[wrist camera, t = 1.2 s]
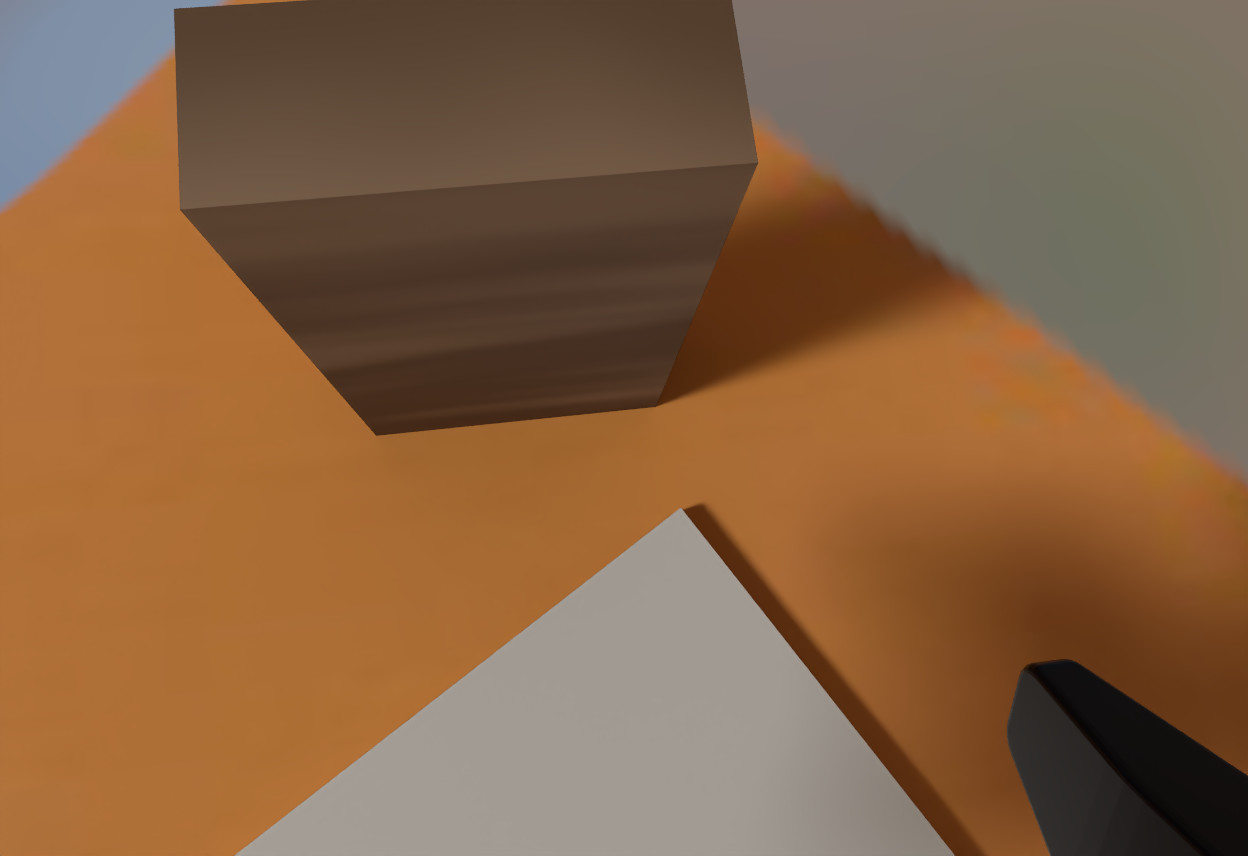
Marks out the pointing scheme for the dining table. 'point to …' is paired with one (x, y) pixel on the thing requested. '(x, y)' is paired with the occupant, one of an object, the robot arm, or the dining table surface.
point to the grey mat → (623, 739)
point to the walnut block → (469, 191)
